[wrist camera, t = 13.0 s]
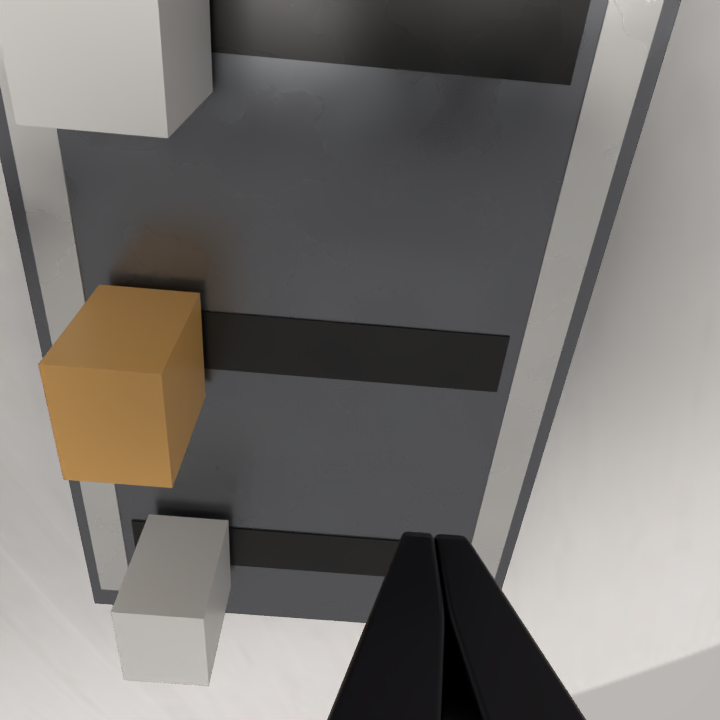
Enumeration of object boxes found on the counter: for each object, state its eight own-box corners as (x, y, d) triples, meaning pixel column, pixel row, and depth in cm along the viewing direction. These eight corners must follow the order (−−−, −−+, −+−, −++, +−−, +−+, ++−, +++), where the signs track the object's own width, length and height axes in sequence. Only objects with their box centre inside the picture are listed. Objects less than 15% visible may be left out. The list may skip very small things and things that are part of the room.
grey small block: (230, 586, 26) (208, 686, 22) (157, 581, 26) (124, 680, 22) (228, 520, 24) (203, 618, 20) (148, 514, 24) (110, 612, 20)
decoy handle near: (212, 91, 16) (167, 137, 13) (93, 80, 16) (16, 124, 12) (205, -92, 14) (150, -95, 11) (69, -106, 14) (-30, -112, 10)
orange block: (205, 396, 21) (172, 488, 17) (114, 388, 21) (63, 479, 17) (199, 293, 19) (161, 373, 15) (99, 284, 19) (38, 364, 15)
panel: (482, 590, 29) (488, 633, 28) (111, 563, 29) (94, 604, 27) (694, -164, 15) (735, -175, 13) (-35, -239, 15) (-90, -259, 13)
